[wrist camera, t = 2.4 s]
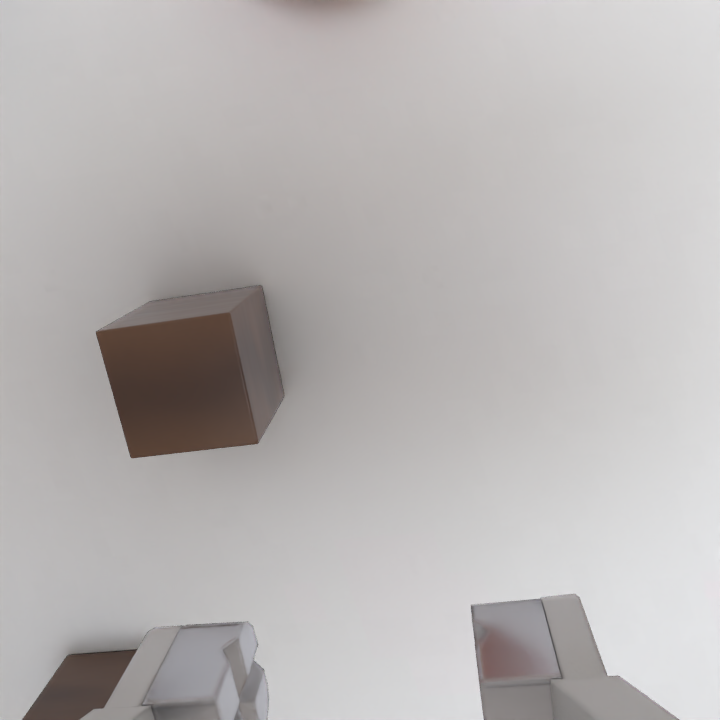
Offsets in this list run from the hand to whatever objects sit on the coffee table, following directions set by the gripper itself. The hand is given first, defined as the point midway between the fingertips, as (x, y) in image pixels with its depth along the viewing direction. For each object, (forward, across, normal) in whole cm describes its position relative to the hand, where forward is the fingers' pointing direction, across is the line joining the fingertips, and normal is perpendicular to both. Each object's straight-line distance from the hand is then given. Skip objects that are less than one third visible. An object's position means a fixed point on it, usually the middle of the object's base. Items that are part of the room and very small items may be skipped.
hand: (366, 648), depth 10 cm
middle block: (+19, -8, 0) cm, 21 cm away
